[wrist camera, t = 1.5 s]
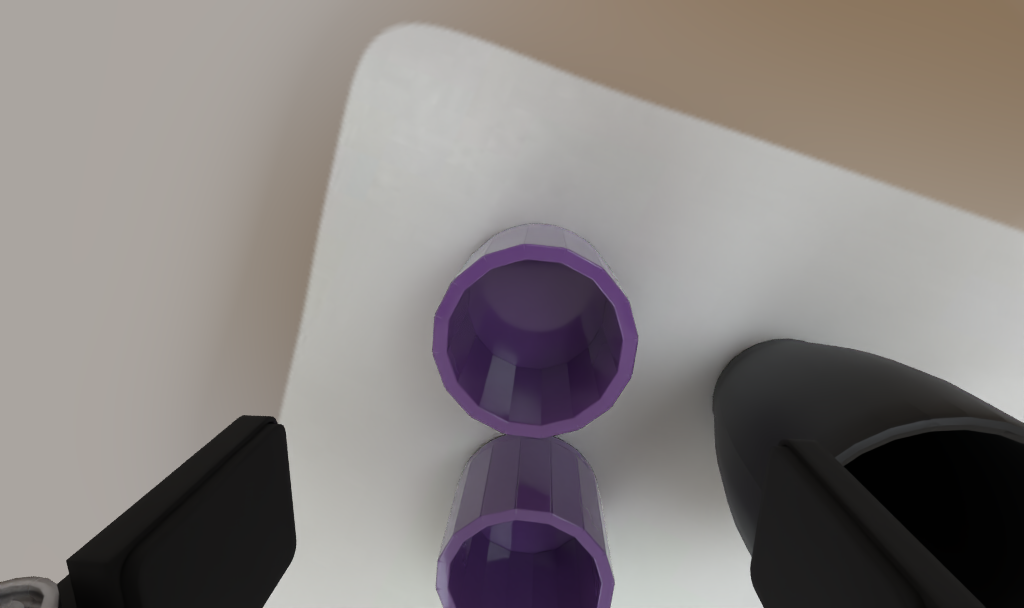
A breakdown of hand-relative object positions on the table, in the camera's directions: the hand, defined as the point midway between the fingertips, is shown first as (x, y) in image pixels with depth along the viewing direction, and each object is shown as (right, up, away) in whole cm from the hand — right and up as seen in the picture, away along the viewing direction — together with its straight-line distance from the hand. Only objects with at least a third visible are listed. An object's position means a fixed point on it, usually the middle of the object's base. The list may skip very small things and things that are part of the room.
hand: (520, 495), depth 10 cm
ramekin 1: (+1, +4, +12) cm, 13 cm away
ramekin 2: (+1, -5, +15) cm, 16 cm away
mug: (+13, -1, +13) cm, 19 cm away
